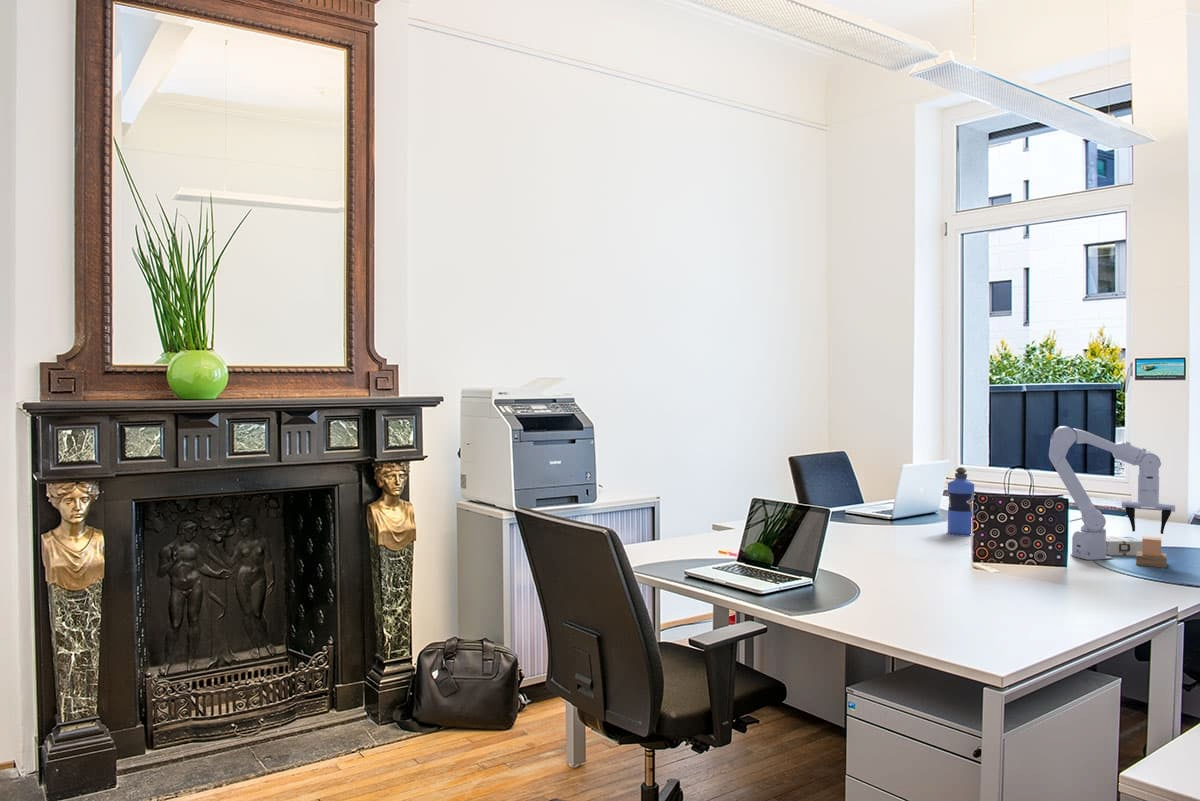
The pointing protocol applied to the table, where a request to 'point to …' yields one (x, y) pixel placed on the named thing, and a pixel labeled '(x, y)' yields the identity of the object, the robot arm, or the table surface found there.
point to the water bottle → (960, 504)
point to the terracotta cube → (1151, 546)
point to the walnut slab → (1151, 560)
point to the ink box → (1123, 546)
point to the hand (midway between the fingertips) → (1147, 532)
